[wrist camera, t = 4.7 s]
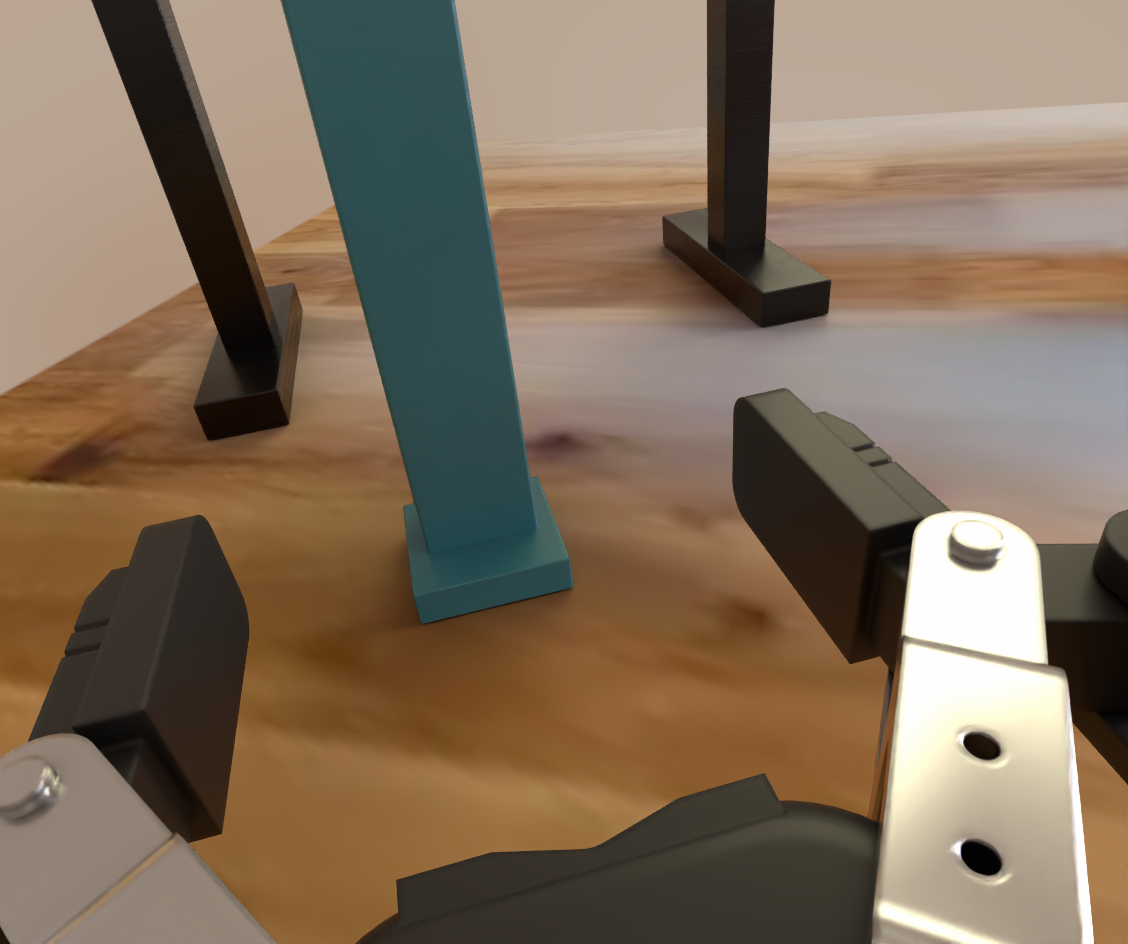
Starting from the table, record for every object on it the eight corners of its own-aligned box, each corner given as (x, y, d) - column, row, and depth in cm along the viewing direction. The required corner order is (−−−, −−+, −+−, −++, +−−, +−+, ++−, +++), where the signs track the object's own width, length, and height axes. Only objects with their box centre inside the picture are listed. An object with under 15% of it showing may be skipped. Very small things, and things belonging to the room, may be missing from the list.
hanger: (574, 587, 20) (476, -141, 12) (421, 625, 20) (207, -111, 11) (510, 417, 28) (424, -96, 20) (399, 440, 28) (262, -77, 19)
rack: (828, 314, 32) (906, -549, 19) (207, 441, 29) (-195, -502, 16) (715, 234, 42) (717, -375, 29) (241, 321, 39) (9, -323, 26)
